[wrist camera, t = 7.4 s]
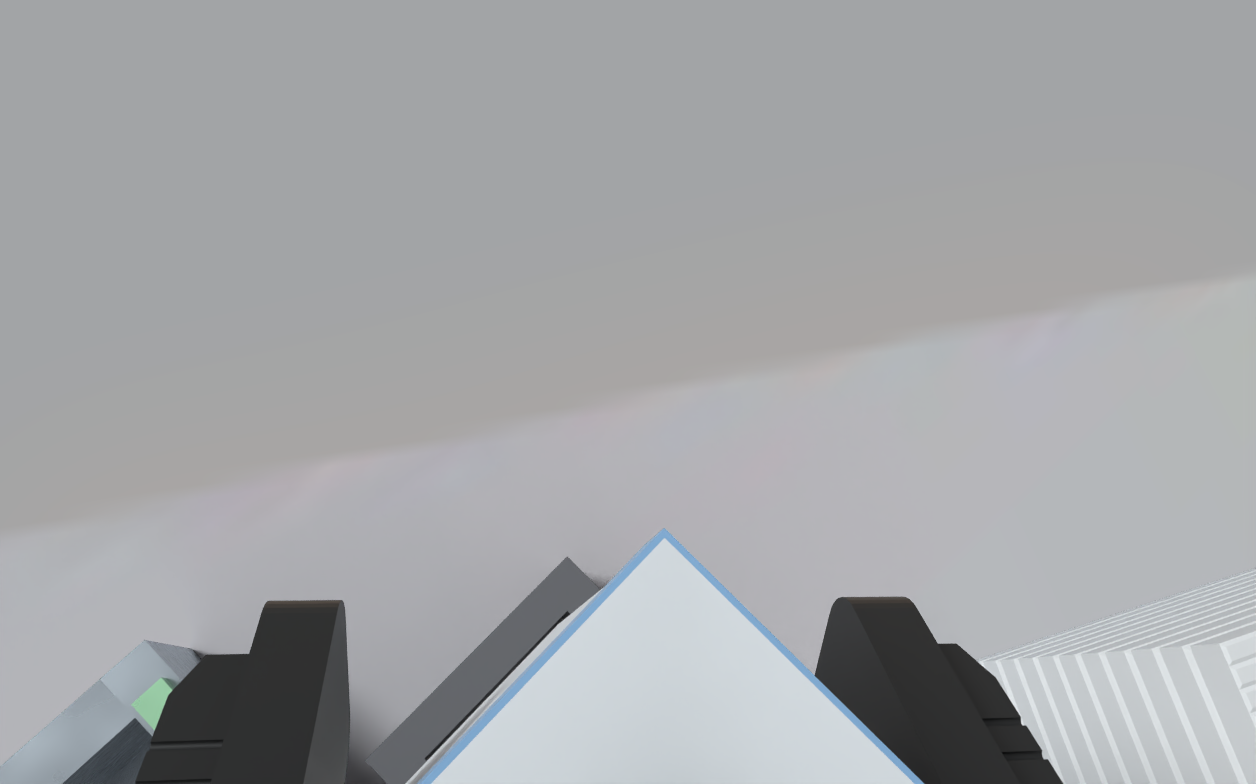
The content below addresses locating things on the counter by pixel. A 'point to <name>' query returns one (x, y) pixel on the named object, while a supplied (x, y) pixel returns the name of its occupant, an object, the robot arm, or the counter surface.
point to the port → (105, 723)
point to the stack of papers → (1145, 690)
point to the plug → (662, 698)
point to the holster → (481, 673)
